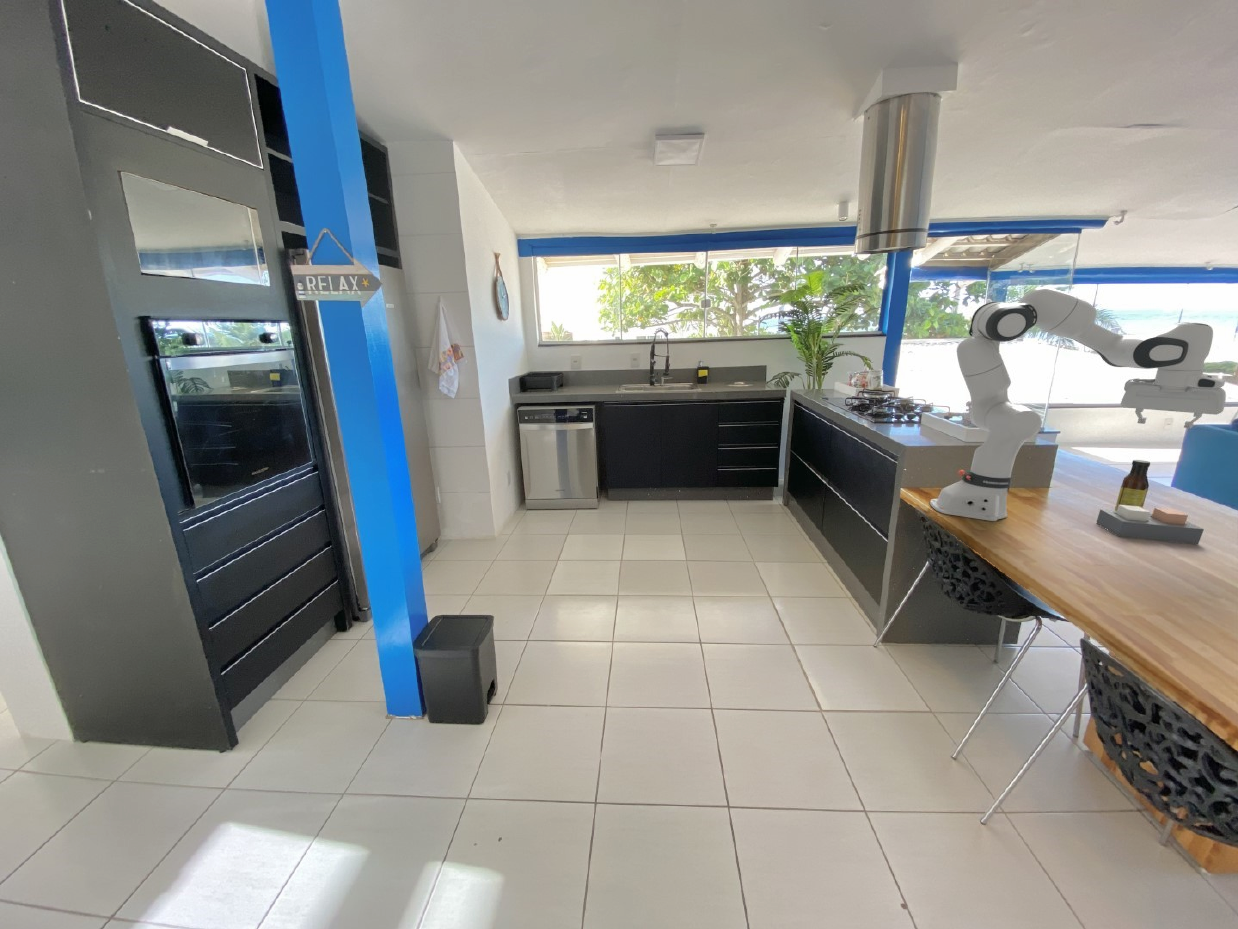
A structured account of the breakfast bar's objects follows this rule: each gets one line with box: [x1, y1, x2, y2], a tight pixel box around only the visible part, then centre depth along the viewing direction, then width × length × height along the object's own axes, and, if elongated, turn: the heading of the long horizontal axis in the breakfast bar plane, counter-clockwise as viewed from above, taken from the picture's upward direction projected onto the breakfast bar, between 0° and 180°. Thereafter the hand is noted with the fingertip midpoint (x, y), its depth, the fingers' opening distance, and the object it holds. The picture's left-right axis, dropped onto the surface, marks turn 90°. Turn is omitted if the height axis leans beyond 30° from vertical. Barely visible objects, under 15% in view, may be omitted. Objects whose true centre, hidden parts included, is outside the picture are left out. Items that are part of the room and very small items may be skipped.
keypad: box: [1096, 508, 1205, 545], centre depth 147 cm, size 19×11×5 cm, turn 72°
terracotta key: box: [1151, 507, 1189, 525], centre depth 145 cm, size 5×5×4 cm
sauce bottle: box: [1114, 459, 1151, 511], centre depth 159 cm, size 6×6×20 cm
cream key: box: [1116, 505, 1151, 521], centre depth 148 cm, size 5×5×4 cm
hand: (1163, 425), depth 141 cm, fingers open, 8 cm apart
